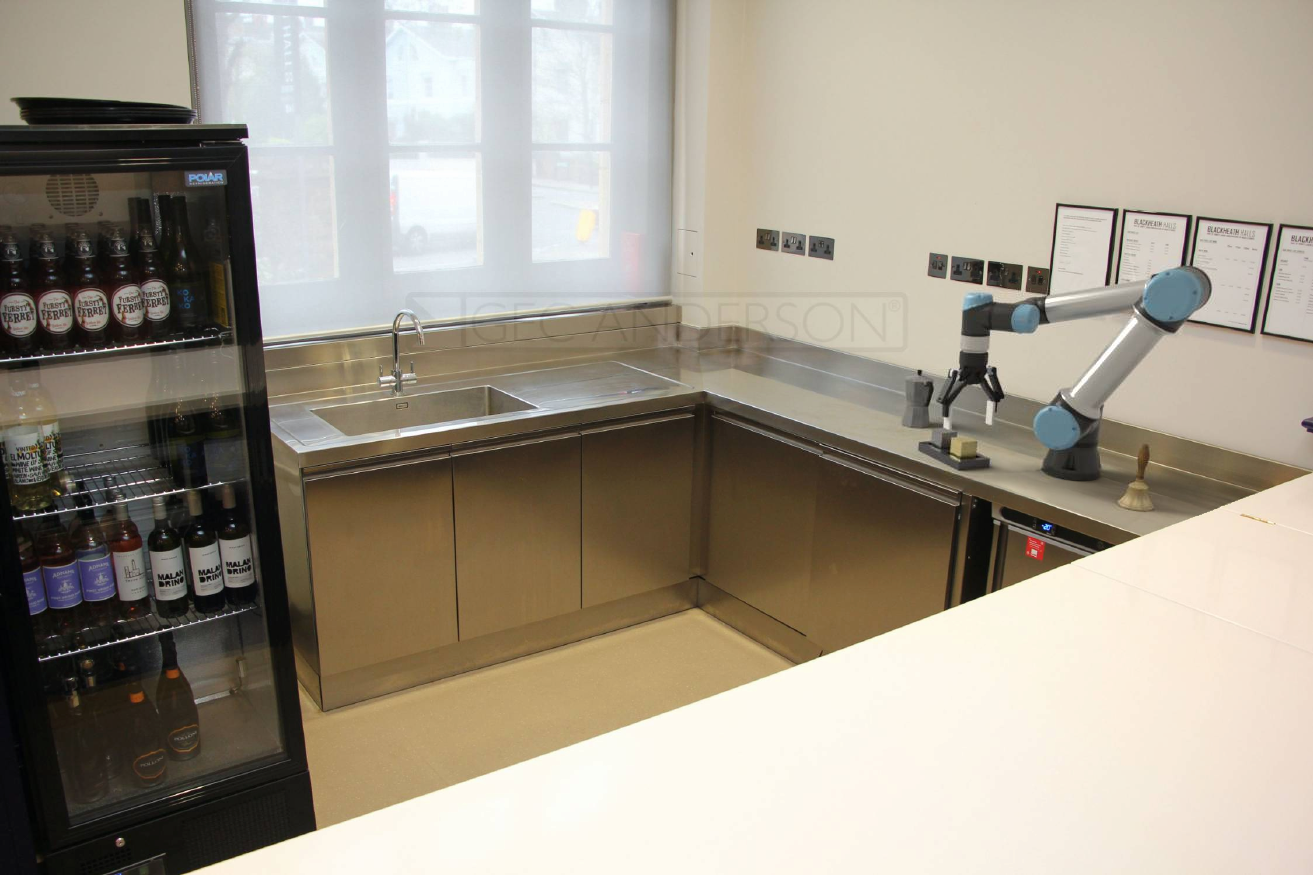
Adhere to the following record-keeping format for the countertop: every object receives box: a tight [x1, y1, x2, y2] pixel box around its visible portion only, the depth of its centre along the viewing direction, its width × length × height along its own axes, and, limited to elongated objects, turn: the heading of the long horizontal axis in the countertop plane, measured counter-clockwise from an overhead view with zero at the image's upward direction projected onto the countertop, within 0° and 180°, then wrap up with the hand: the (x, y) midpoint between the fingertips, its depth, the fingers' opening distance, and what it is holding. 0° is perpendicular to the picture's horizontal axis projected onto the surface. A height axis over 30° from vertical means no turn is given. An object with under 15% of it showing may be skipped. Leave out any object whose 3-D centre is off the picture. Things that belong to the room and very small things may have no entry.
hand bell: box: [1116, 443, 1154, 512], centre depth 250 cm, size 8×8×16 cm
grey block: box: [930, 427, 958, 450], centre depth 291 cm, size 5×5×7 cm
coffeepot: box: [901, 369, 935, 429], centre depth 321 cm, size 15×9×18 cm, turn 14°
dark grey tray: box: [917, 440, 991, 471], centre depth 287 cm, size 20×10×3 cm, turn 18°
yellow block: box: [950, 435, 978, 460], centre depth 282 cm, size 5×5×7 cm
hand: (968, 426), depth 280 cm, fingers open, 13 cm apart
